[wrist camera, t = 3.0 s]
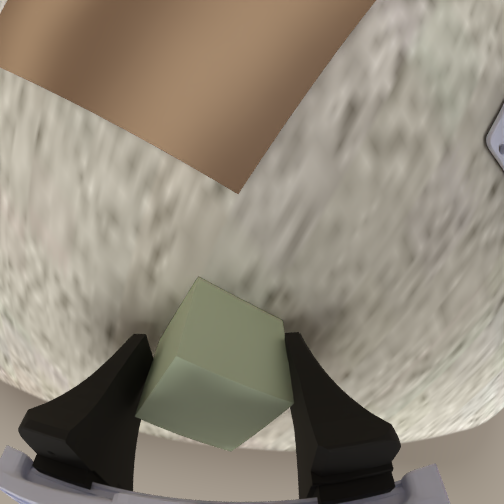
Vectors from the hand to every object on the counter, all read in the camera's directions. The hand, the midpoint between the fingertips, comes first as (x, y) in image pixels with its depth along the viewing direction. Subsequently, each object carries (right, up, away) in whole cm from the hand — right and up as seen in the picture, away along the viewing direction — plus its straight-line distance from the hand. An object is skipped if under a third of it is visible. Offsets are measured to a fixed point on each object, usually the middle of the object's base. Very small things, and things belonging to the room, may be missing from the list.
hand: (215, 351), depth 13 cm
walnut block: (-1, +15, -5) cm, 16 cm away
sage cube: (0, +1, +1) cm, 1 cm away
